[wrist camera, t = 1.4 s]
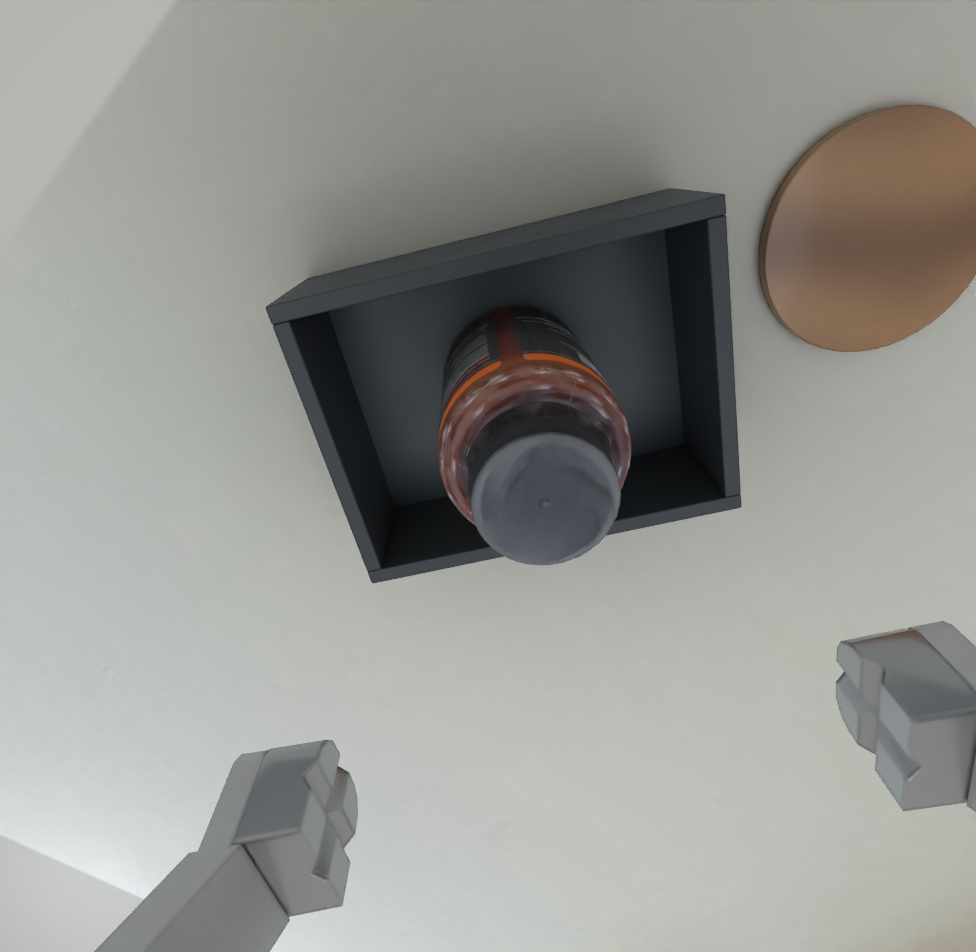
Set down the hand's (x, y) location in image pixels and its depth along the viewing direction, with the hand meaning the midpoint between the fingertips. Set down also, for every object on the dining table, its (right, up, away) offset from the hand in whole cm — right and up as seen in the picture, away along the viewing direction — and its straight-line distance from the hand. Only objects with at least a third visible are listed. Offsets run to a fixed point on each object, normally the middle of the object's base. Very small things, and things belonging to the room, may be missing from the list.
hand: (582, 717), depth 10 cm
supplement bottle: (0, +8, +16) cm, 18 cm away
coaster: (+14, +13, +15) cm, 24 cm away
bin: (0, +9, +17) cm, 19 cm away
